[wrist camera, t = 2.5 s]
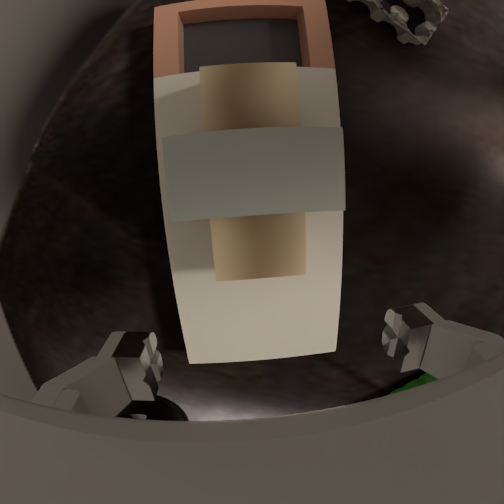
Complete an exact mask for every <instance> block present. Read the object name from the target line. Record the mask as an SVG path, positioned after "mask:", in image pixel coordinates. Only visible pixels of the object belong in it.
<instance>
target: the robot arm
mask: <svg viewBox="0 0 504 504" xmlns="http://www.w3.org/2000/svg"><path fill="white" fill-rule="evenodd" d="M385 321H386V323H387V326H386V328H385V329H384V330H383V335H382V343H383V348H384V350H385V352H386V353H387V355H389V356H392V357H394V358H393V363H394V364H395V366H396V367H397V369H398V370H399V371H400V373H401V372H405V371H409V370H413V369H417V368H420V369H421V370H423V371H425V372H427V373H429V374H430V375H432V376H434V377H436V378H438V380H435V381H432V382H430V383H427V384H424V385H421V386H417V387H414V388H411V389H408V390H404V391H401V392H398V393H394V394H390V395H387V396H383V397H379V398H375V399H371V400H367V401H363V402H358V403H354V404H349V405H345V406H340V407H335V408H329V409H324V410H318V411H312V412H305V413H299V414H291V415H284V416H275V417H265V418H254V419H241V420H222V421H162V420H143V419H130V418H120V417H115V416H116V415H117V414H118V413H120V412H121V411H122V410H123V409H124V408H125V407H126V406H127V405H128V404H129V403H130V402H131V400H146V401H155V398H156V395H157V391H158V388H159V387H158V384H157V382H158V381H159V380H160V379H161V377H162V372H163V364H162V358H161V354H160V353H159V352H158V351H157V350H156V349H155V348H156V345H157V339H156V336H155V334H154V333H153V332H112V333H111V335H110V336H109V338H108V339H107V341H106V343H105V344H104V346H103V347H102V349H101V351H100V352H99V354H98V356H97V357H91V358H90V359H88V360H86V361H84V362H82V363H81V364H79V365H77V366H75V367H73V368H71V369H70V370H68V371H66V372H64V373H62V374H61V375H59V376H57V377H55V378H53V379H51V380H50V381H48V382H46V383H44V384H43V385H42V386H41V388H40V389H39V391H38V392H37V394H36V395H35V397H34V398H33V400H32V401H31V402H27V401H23V400H19V399H16V398H12V397H9V396H6V395H2V394H0V504H504V339H503V338H502V337H500V336H499V335H497V334H494V333H490V332H487V331H484V330H480V329H477V328H473V327H470V326H466V325H463V324H460V323H456V322H453V321H449V320H448V321H445V320H444V319H443V318H442V317H440V316H439V315H438V314H437V313H436V312H435V311H433V310H432V309H431V308H430V307H429V306H428V305H426V304H425V303H422V302H420V303H416V304H412V305H408V306H403V307H399V308H394V309H389V310H387V313H386V316H385Z"/></svg>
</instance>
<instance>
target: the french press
mask: <svg viewBox="0 0 504 504" xmlns="http://www.w3.org/2000/svg"><path fill="white" fill-rule="evenodd" d="M129 414H144V415H147V418H146V420H163V421H189V420H188V418H187V415H186V414H185V412H184V411H183V410H182V409H181V408H180V407H179V406H178V405H176V404H175V403H173V402H172V401H170V400H168V399H166V398H163V397H161V396H158V395H156V398H155V401H146V400H131V402H130V403H129V404H128V405H127V406H126V407H125V408H124V409H123V410H122V411H121V412H120V413H118V415H117V417H120V418H130V417H129Z"/></svg>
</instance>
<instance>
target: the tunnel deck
mask: <svg viewBox="0 0 504 504" xmlns="http://www.w3.org/2000/svg"><path fill="white" fill-rule="evenodd" d="M261 62H296V67H297V77H298V88H299V101H300V114H301V127H265V128H246V129H231V130H219V131H208V132H203V129H202V113H201V94H200V73H199V67H203V66H212V65H224V64H238V63H261ZM153 75H154V108H155V128H156V143H157V156H158V168H159V179H160V189H161V198H162V207H163V215H164V223H165V231H166V238H167V245H168V252H169V259H170V265H171V272H172V278H173V284H174V289H175V295H176V301H177V306H178V311H179V317H180V322H181V327H182V332H183V336H184V341H185V346H186V350H187V355H188V359H189V364H195V363H222V362H239V361H253V360H265V359H276V358H286V357H295V356H303V355H311V354H319V353H326V352H333V351H336V343H337V332H338V321H339V308H340V294H341V276H342V250H343V210H345V161H344V139H343V127H340V113H339V100H338V90H337V80H336V71H335V62H334V54H333V47H332V40H331V33H330V26H329V20H328V14H327V8H326V3H325V0H196V1H188V2H182V3H175V4H170V5H164V6H159V7H155V8H154V39H153ZM299 212H305V223H306V275H295V276H284V277H271V278H259V279H246V280H232V281H218V282H216V274H215V265H214V256H213V247H212V237H211V227H210V219H212V218H225V217H238V216H252V215H266V214H282V213H299Z"/></svg>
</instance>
